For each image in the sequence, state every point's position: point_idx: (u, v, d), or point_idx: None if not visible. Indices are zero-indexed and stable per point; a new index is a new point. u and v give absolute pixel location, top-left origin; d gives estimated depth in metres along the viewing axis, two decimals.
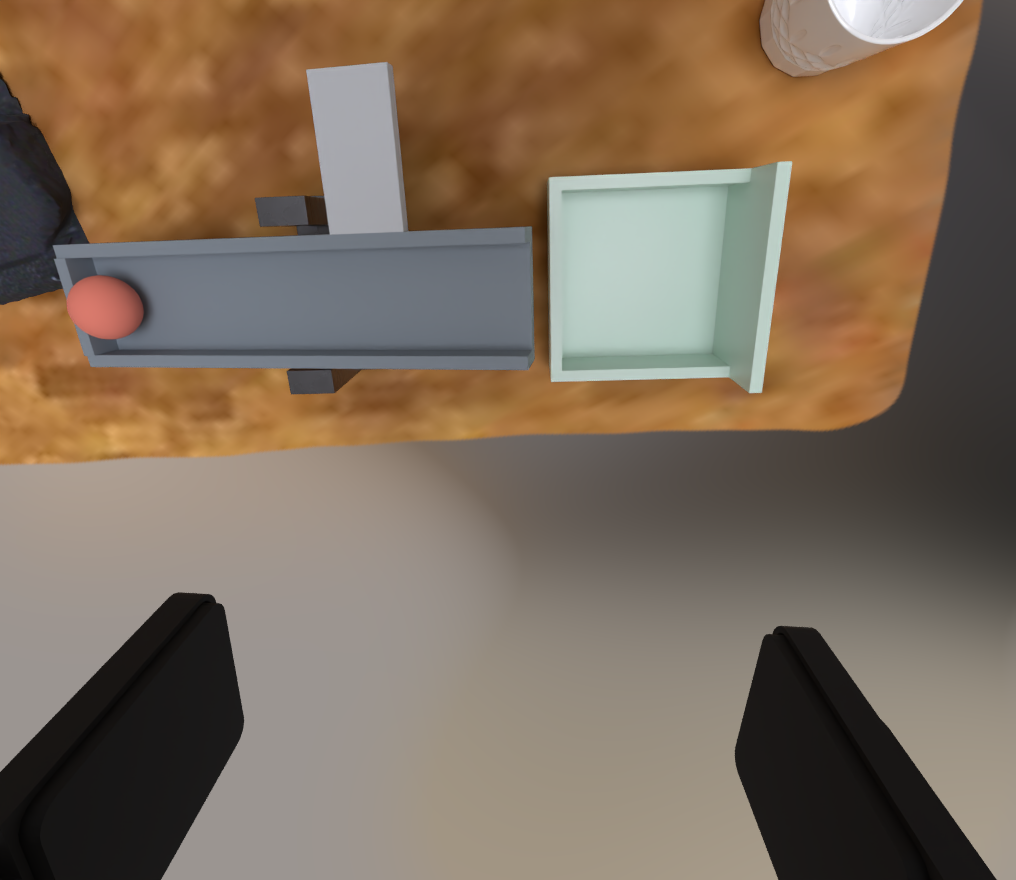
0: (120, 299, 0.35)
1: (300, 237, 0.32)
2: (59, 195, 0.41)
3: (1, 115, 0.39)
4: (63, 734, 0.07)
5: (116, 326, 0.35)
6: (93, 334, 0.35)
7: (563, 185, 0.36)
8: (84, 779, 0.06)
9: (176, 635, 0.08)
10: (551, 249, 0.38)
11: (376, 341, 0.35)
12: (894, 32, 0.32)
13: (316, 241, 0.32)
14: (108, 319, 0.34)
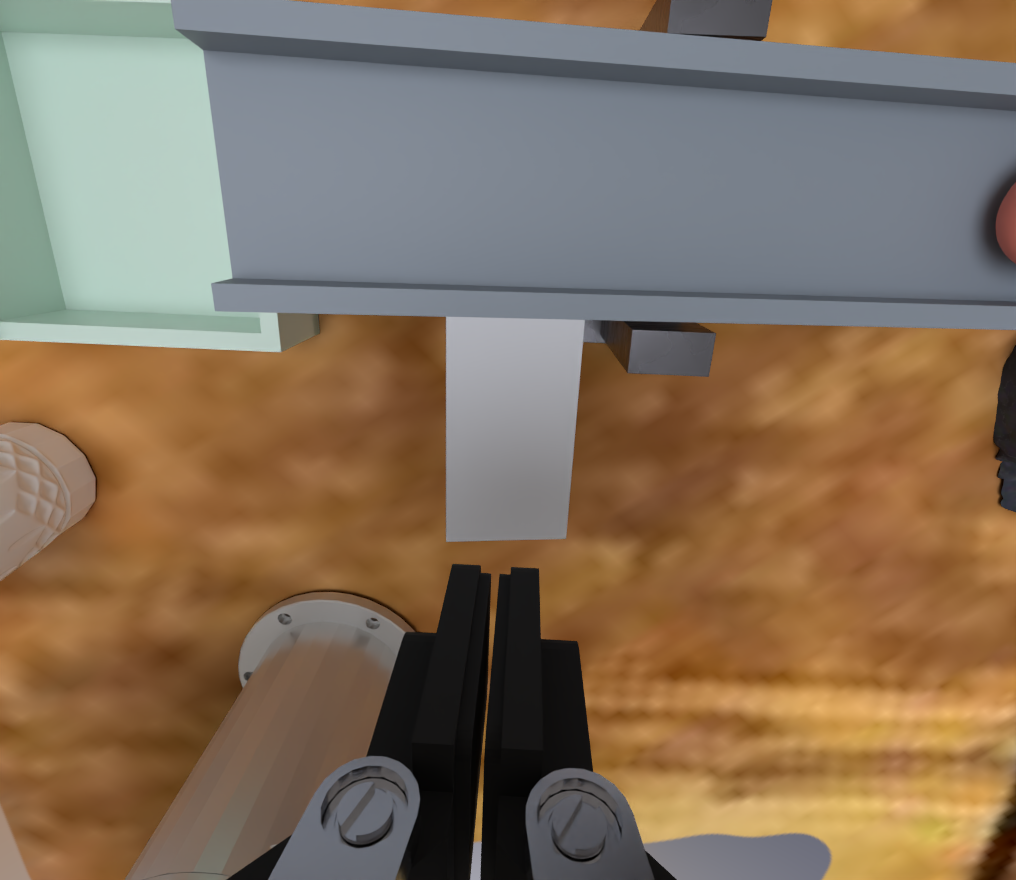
0: None
1: (640, 318, 0.18)
2: None
3: None
4: (448, 675, 0.08)
5: None
6: None
7: (258, 339, 0.25)
8: (474, 713, 0.07)
9: (478, 599, 0.09)
10: None
11: (549, 97, 0.17)
12: None
13: (613, 309, 0.18)
14: None
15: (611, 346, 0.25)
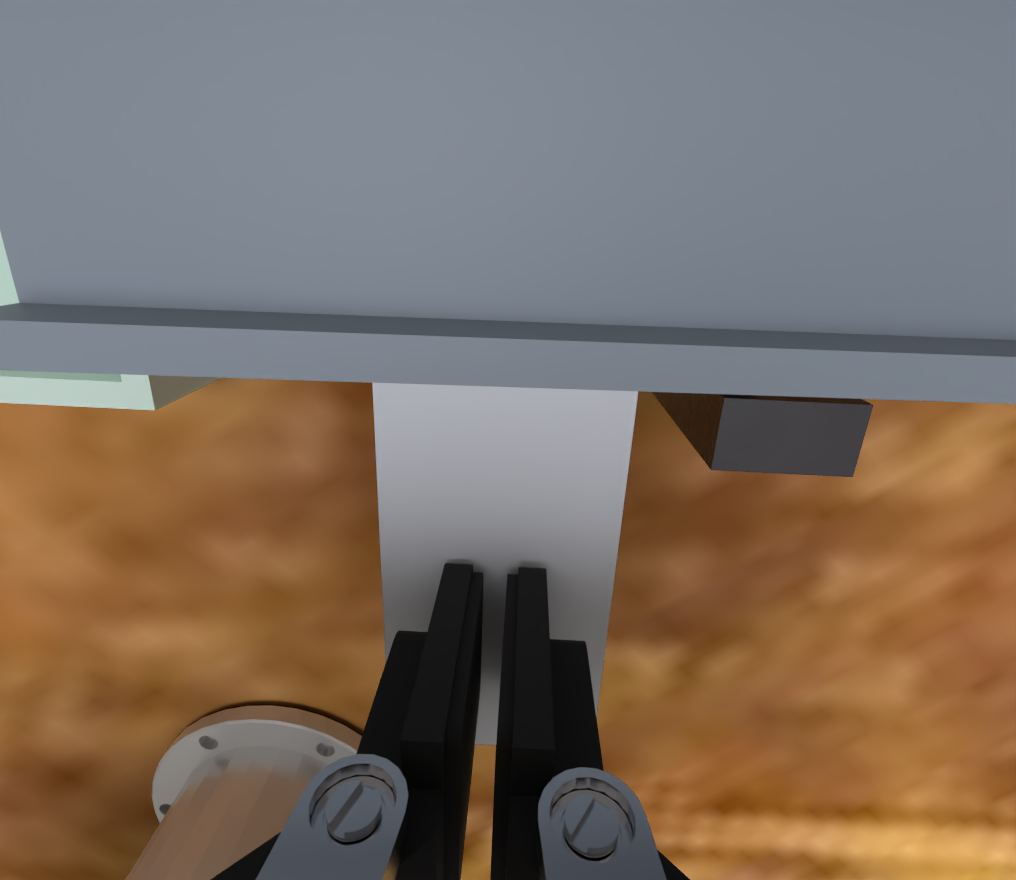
0: None
1: (748, 389, 0.09)
2: None
3: None
4: (438, 674, 0.08)
5: None
6: None
7: (119, 390, 0.16)
8: (464, 711, 0.07)
9: (469, 598, 0.09)
10: None
11: None
12: None
13: (694, 373, 0.09)
14: None
15: (665, 403, 0.16)
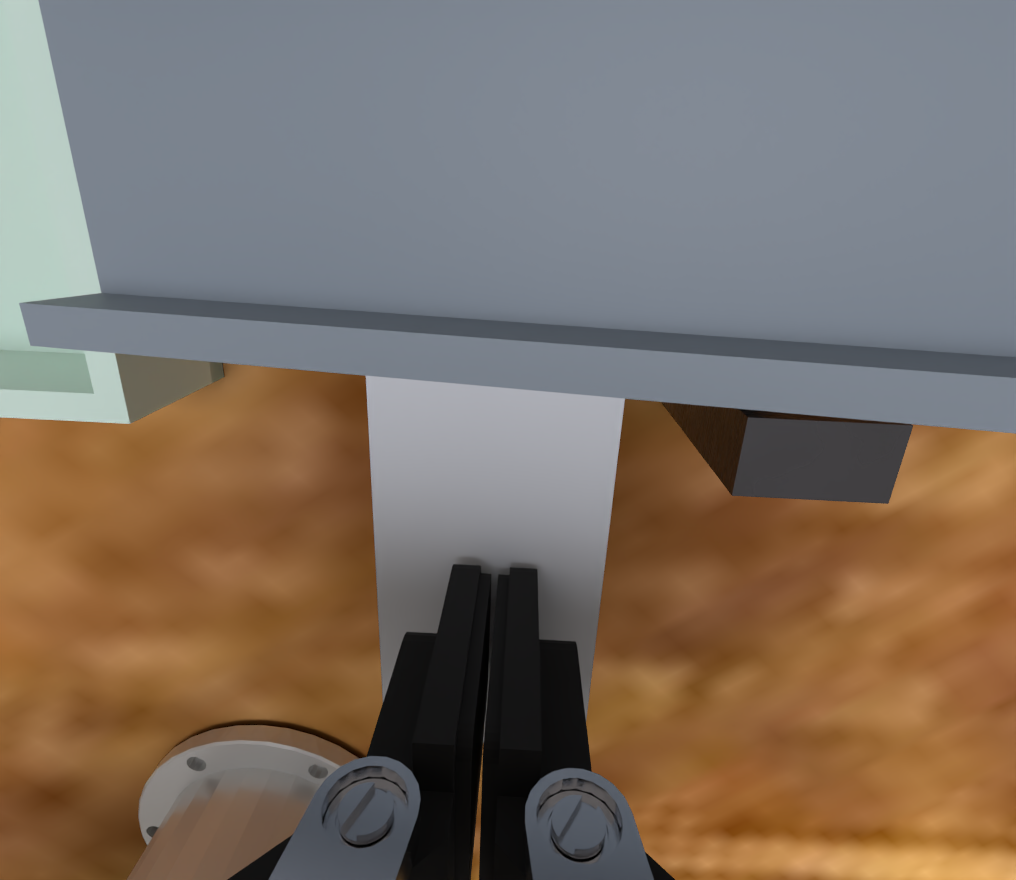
0: None
1: (746, 403, 0.09)
2: None
3: None
4: (449, 676, 0.08)
5: None
6: None
7: (91, 402, 0.15)
8: (475, 713, 0.07)
9: (478, 599, 0.09)
10: (88, 251, 0.13)
11: None
12: None
13: (685, 384, 0.09)
14: None
15: (677, 416, 0.15)
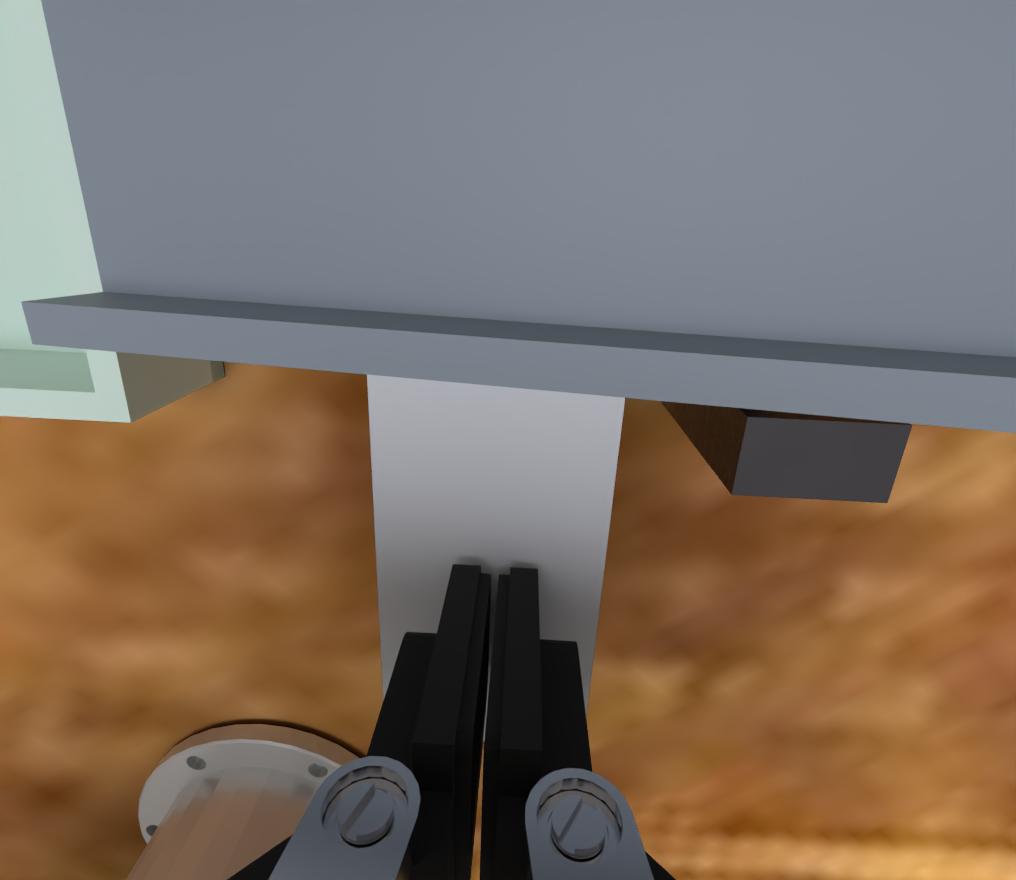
0: None
1: (746, 402, 0.09)
2: None
3: None
4: (449, 676, 0.08)
5: None
6: None
7: (92, 401, 0.15)
8: (475, 713, 0.07)
9: (478, 599, 0.09)
10: (89, 250, 0.14)
11: None
12: None
13: (685, 383, 0.09)
14: None
15: (677, 416, 0.15)
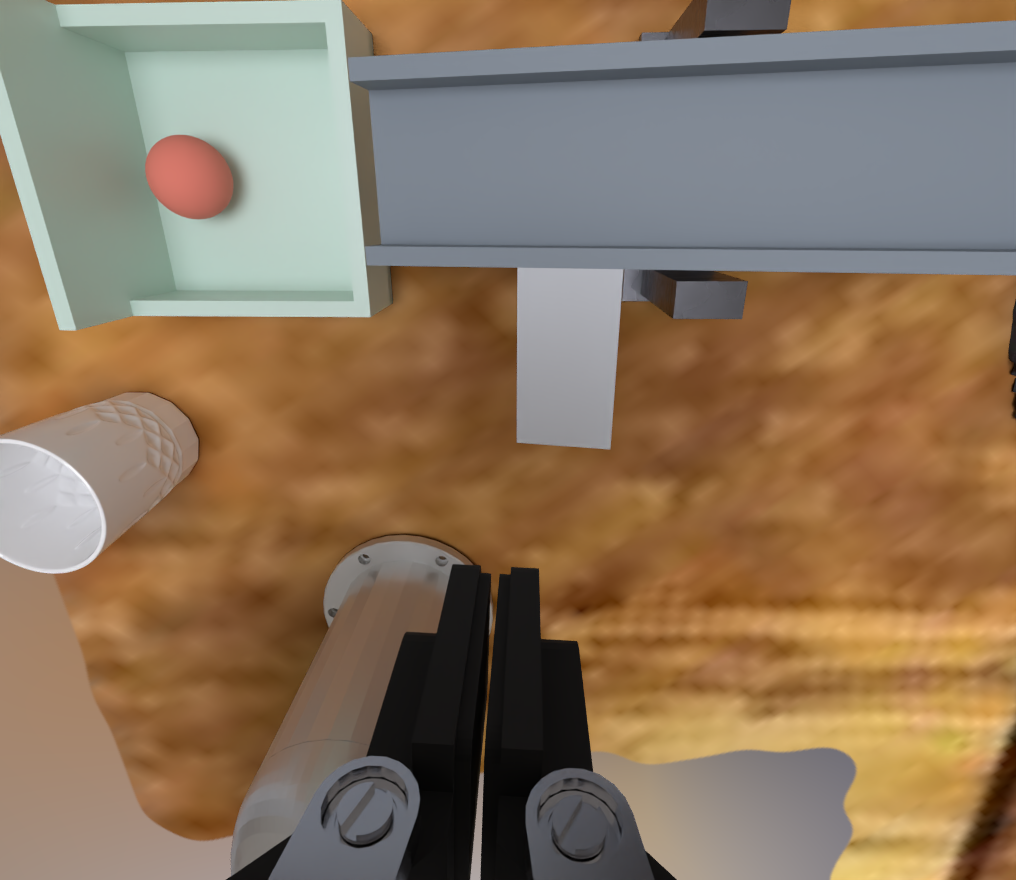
0: None
1: (670, 267, 0.22)
2: None
3: None
4: (448, 675, 0.08)
5: None
6: (156, 144, 0.28)
7: (351, 306, 0.29)
8: (474, 713, 0.07)
9: (478, 599, 0.09)
10: (360, 226, 0.28)
11: (604, 96, 0.22)
12: None
13: (646, 261, 0.23)
14: None
15: (654, 300, 0.29)
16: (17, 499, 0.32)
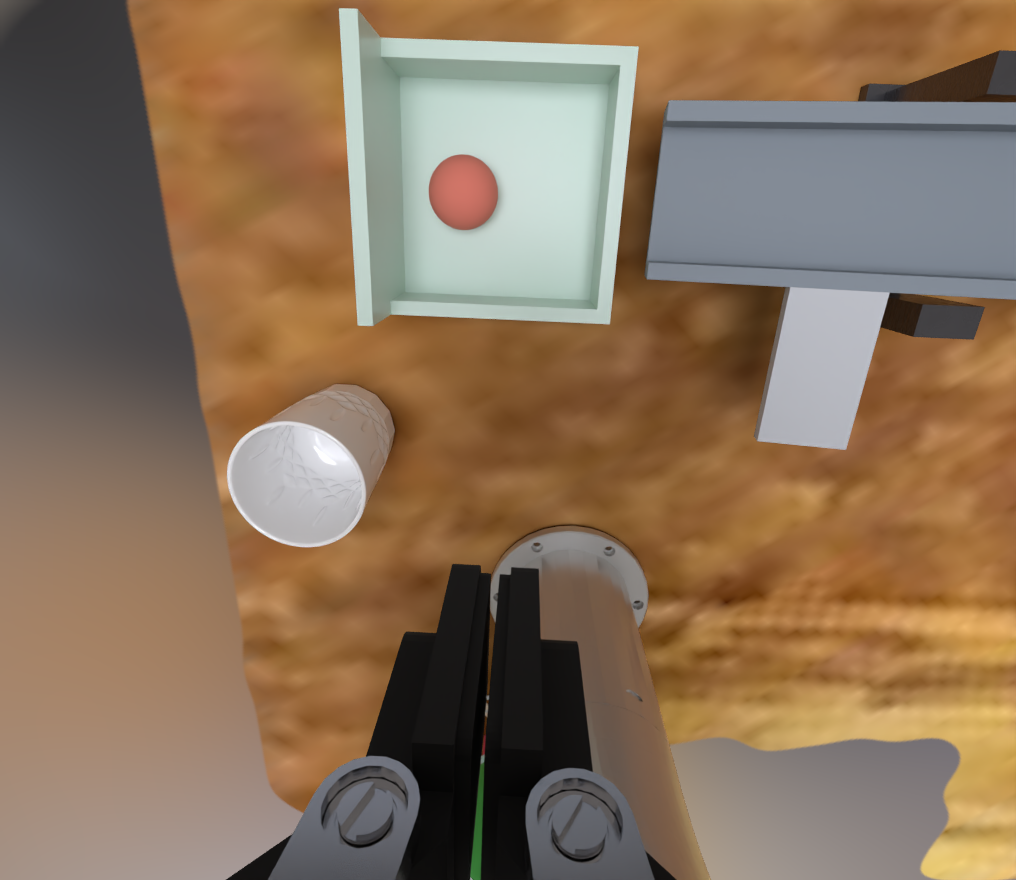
0: None
1: (933, 292, 0.26)
2: None
3: None
4: (448, 675, 0.08)
5: None
6: (454, 162, 0.30)
7: (594, 314, 0.32)
8: (474, 713, 0.07)
9: (478, 599, 0.09)
10: (616, 243, 0.31)
11: (883, 143, 0.26)
12: None
13: (912, 286, 0.26)
14: (431, 180, 0.31)
15: None
16: (261, 478, 0.34)
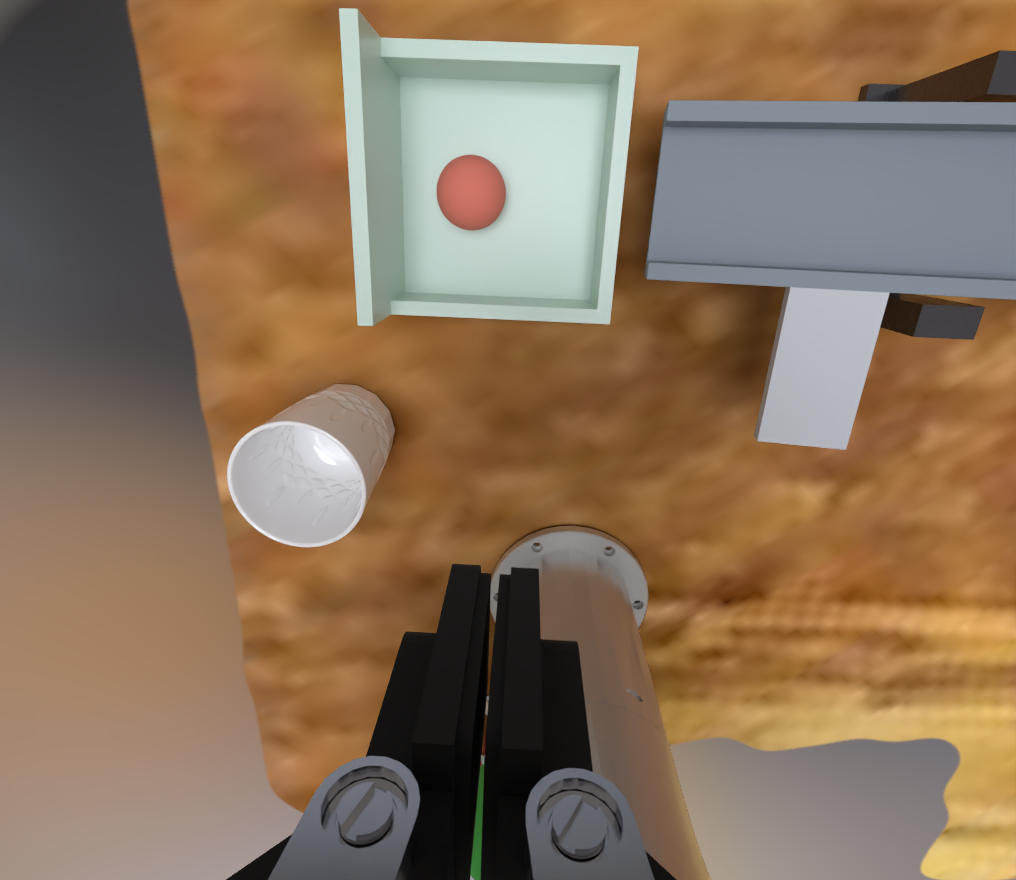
0: (438, 202, 0.32)
1: (933, 292, 0.26)
2: None
3: None
4: (448, 675, 0.08)
5: (443, 171, 0.31)
6: (468, 162, 0.30)
7: (594, 314, 0.32)
8: (474, 713, 0.07)
9: (478, 599, 0.09)
10: (616, 243, 0.31)
11: (883, 143, 0.26)
12: None
13: (912, 286, 0.26)
14: (442, 180, 0.31)
15: None
16: (261, 478, 0.34)
